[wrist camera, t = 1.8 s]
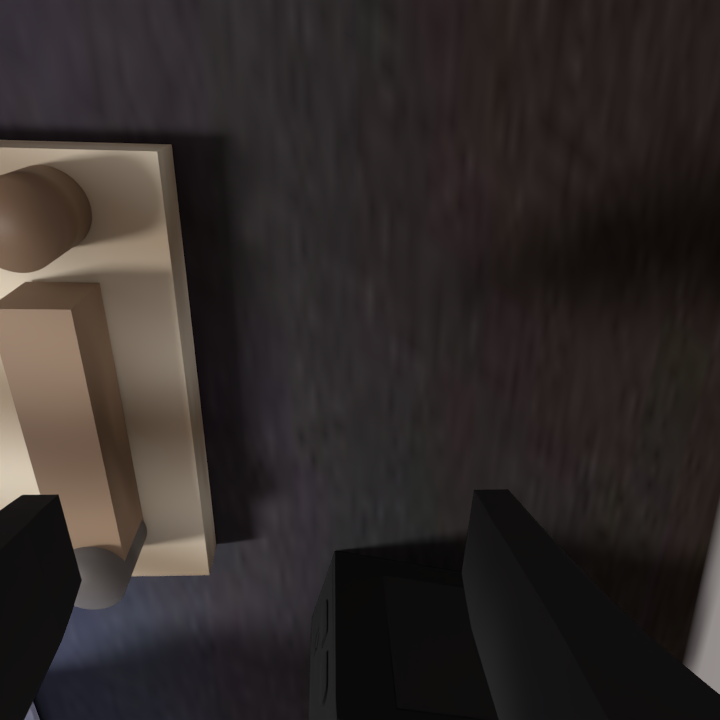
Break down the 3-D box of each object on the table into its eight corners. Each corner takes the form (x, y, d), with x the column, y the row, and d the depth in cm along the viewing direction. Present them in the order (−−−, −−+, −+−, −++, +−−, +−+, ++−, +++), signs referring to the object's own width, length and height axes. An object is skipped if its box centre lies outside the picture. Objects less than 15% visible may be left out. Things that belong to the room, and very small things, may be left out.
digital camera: (301, 636, 26) (293, 819, 19) (331, 549, 23) (332, 725, 17) (515, 666, 27) (569, 842, 21) (562, 587, 25) (640, 760, 19)
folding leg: (151, 550, 20) (130, 608, 18) (88, 551, 20) (59, 610, 18) (102, 282, 16) (66, 317, 14) (21, 281, 16) (-29, 316, 14)
